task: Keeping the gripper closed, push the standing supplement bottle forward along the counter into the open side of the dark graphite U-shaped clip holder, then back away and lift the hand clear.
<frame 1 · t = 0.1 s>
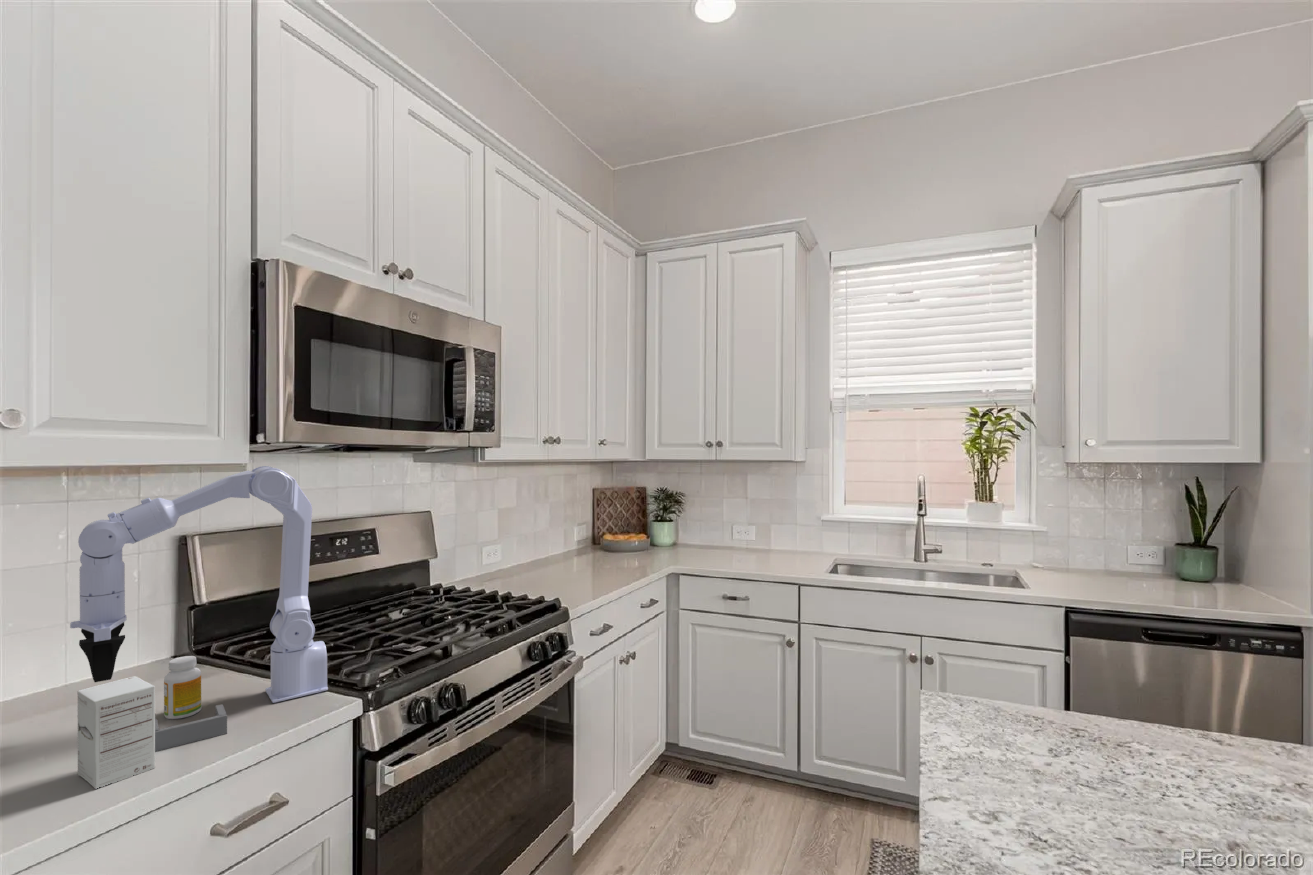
hand: (103, 673, 107), 10 cm above the counter, tool pointing down, fingers open, 7 cm apart
supplement box: (116, 773, 95), on the counter
clip holder: (187, 733, 108), on the counter
supplement bottle: (183, 714, 115), on the counter
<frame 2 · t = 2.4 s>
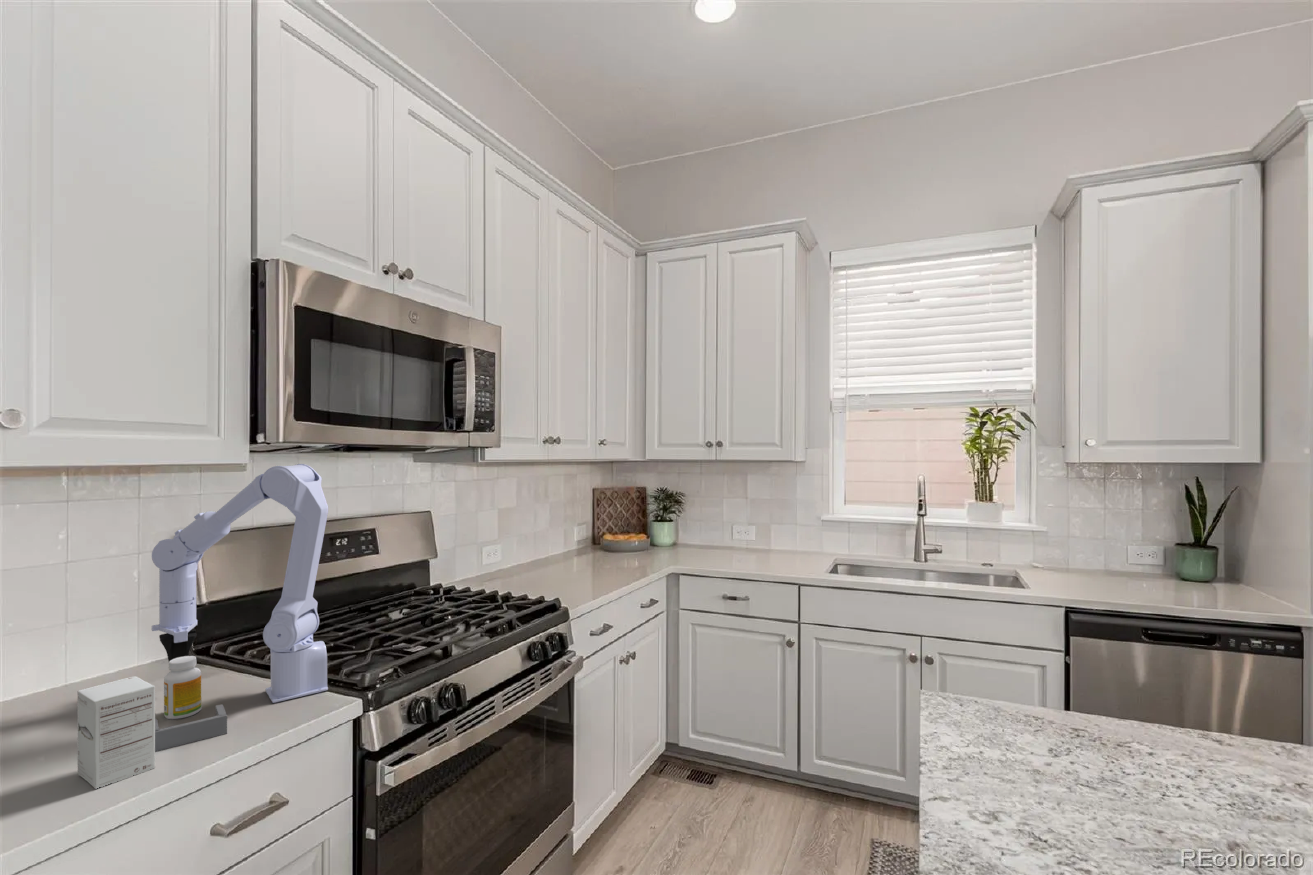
hand: (177, 670, 124), 5 cm above the counter, tool pointing down, fingers closed
nothing on the counter moved.
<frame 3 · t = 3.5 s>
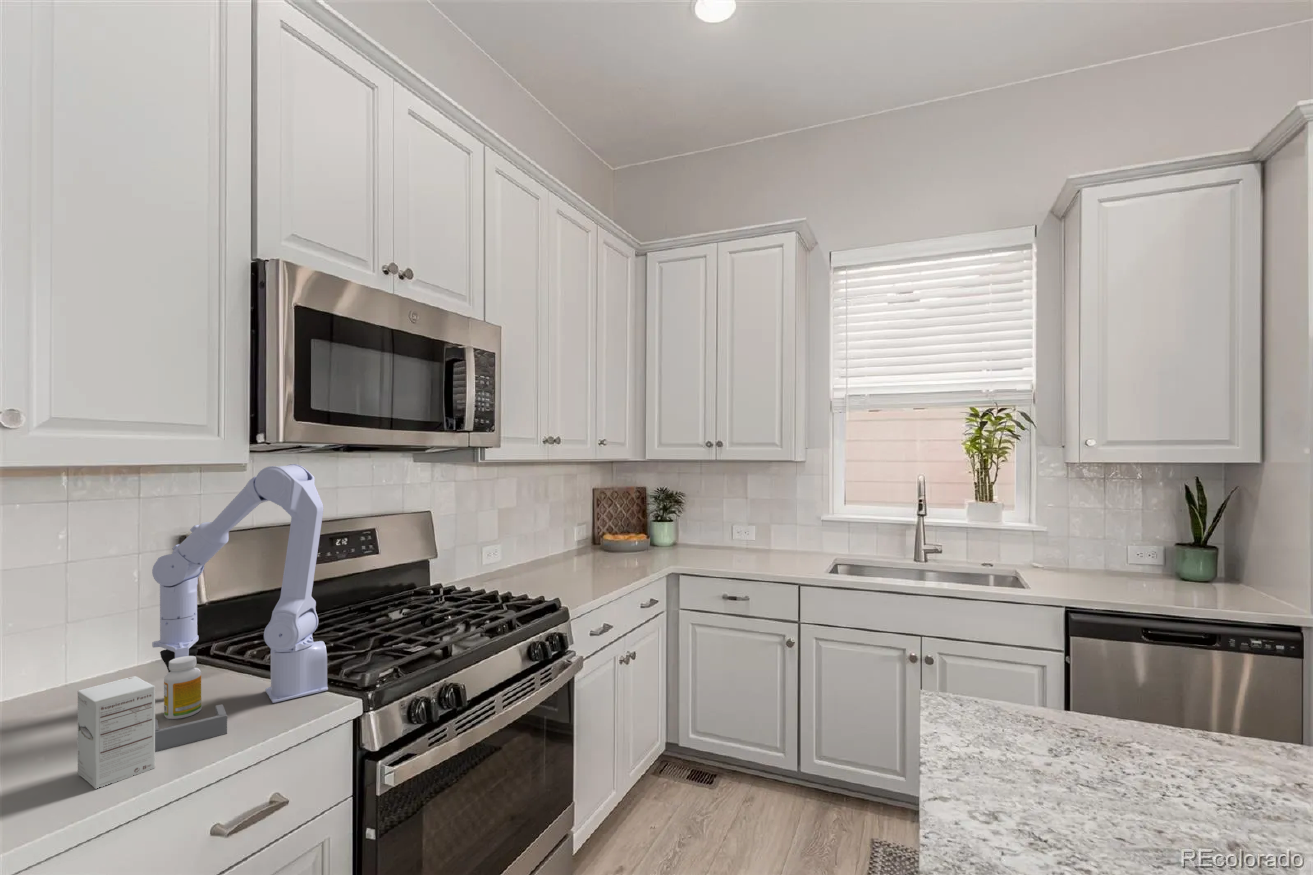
hand: (179, 686, 123), 2 cm above the counter, tool pointing down, fingers closed
nothing on the counter moved.
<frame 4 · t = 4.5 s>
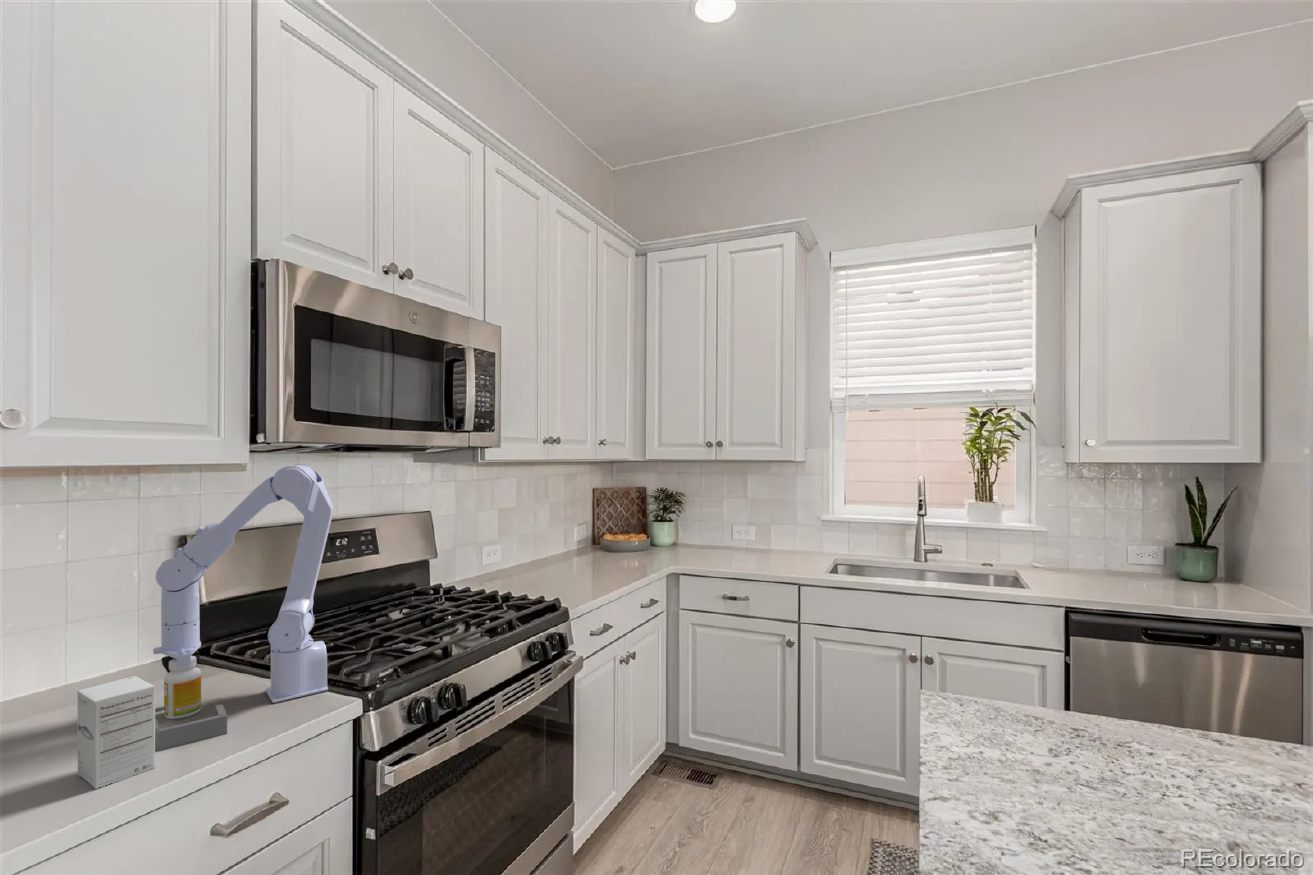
hand: (181, 694, 119), 2 cm above the counter, tool pointing down, fingers closed
supplement bottle: (183, 714, 115), on the counter, touching gripper
everything else where it was.
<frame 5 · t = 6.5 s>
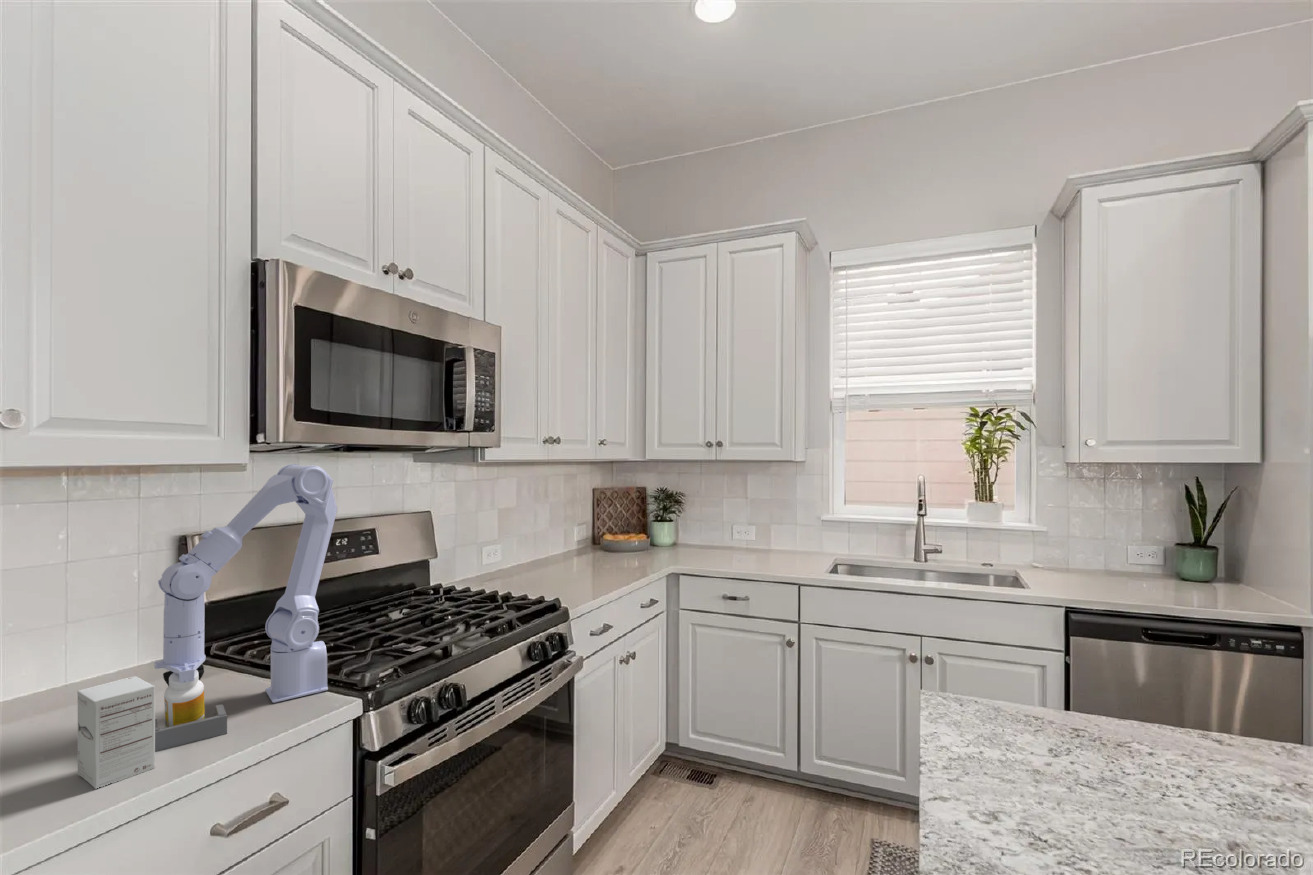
hand: (183, 712, 111), 2 cm above the counter, tool pointing down, fingers closed, pressing on supplement bottle
supplement bottle: (185, 725, 109), point 1 cm above the counter, touching gripper
everything else where it was.
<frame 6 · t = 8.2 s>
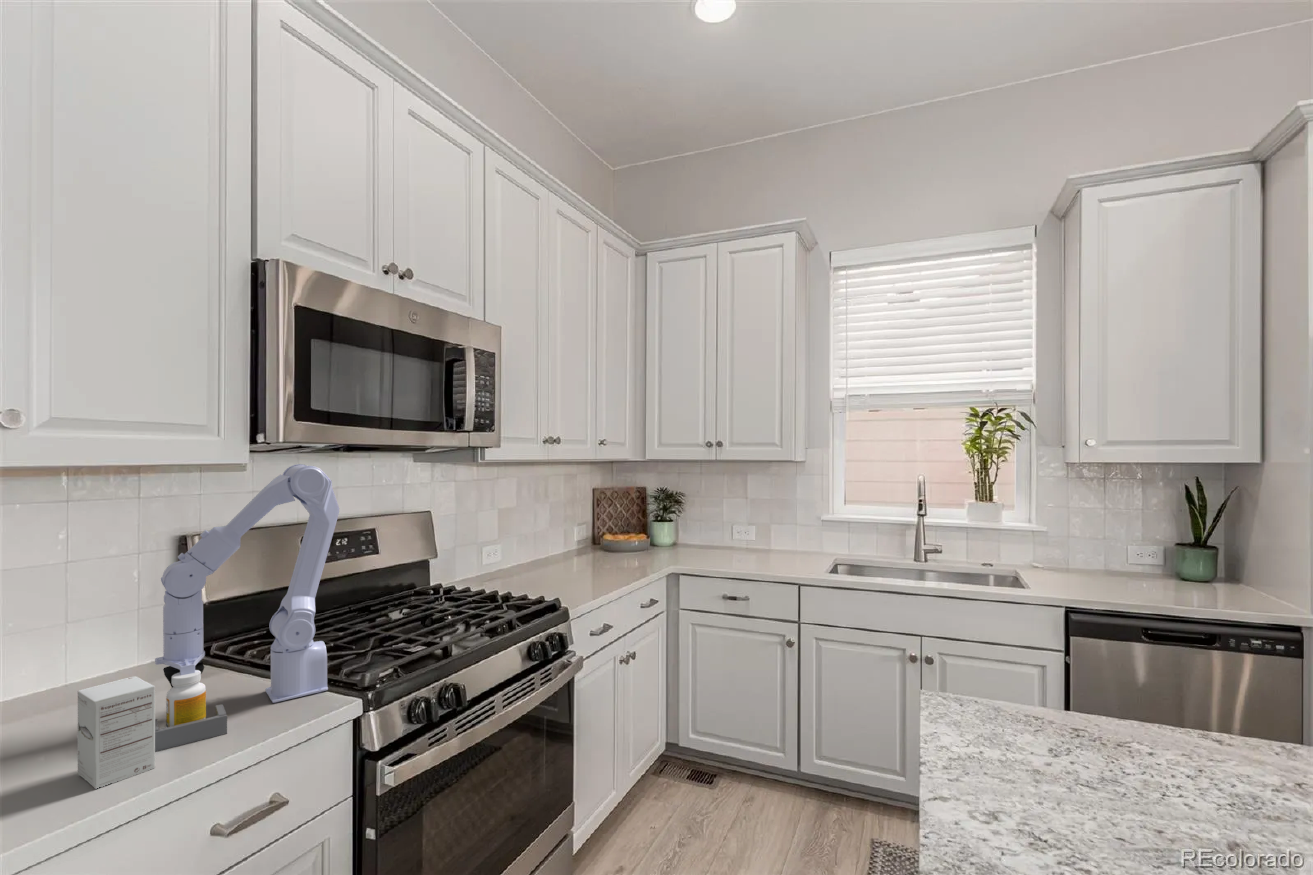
hand: (183, 706, 114), 2 cm above the counter, tool pointing down, fingers closed
supplement bottle: (186, 732, 108), on the counter
everything else where it was.
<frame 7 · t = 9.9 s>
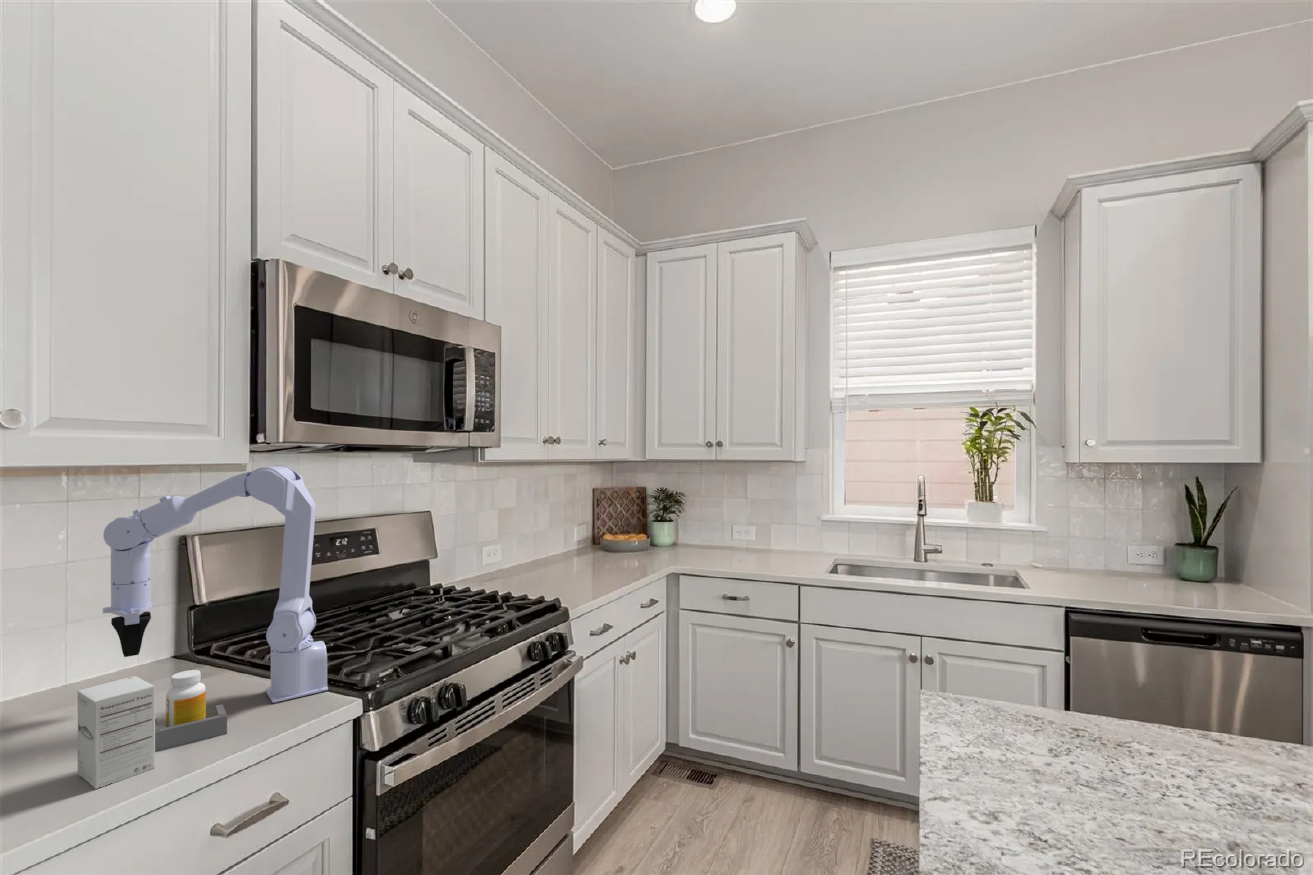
hand: (131, 655, 118), 9 cm above the counter, tool pointing down, fingers closed
nothing on the counter moved.
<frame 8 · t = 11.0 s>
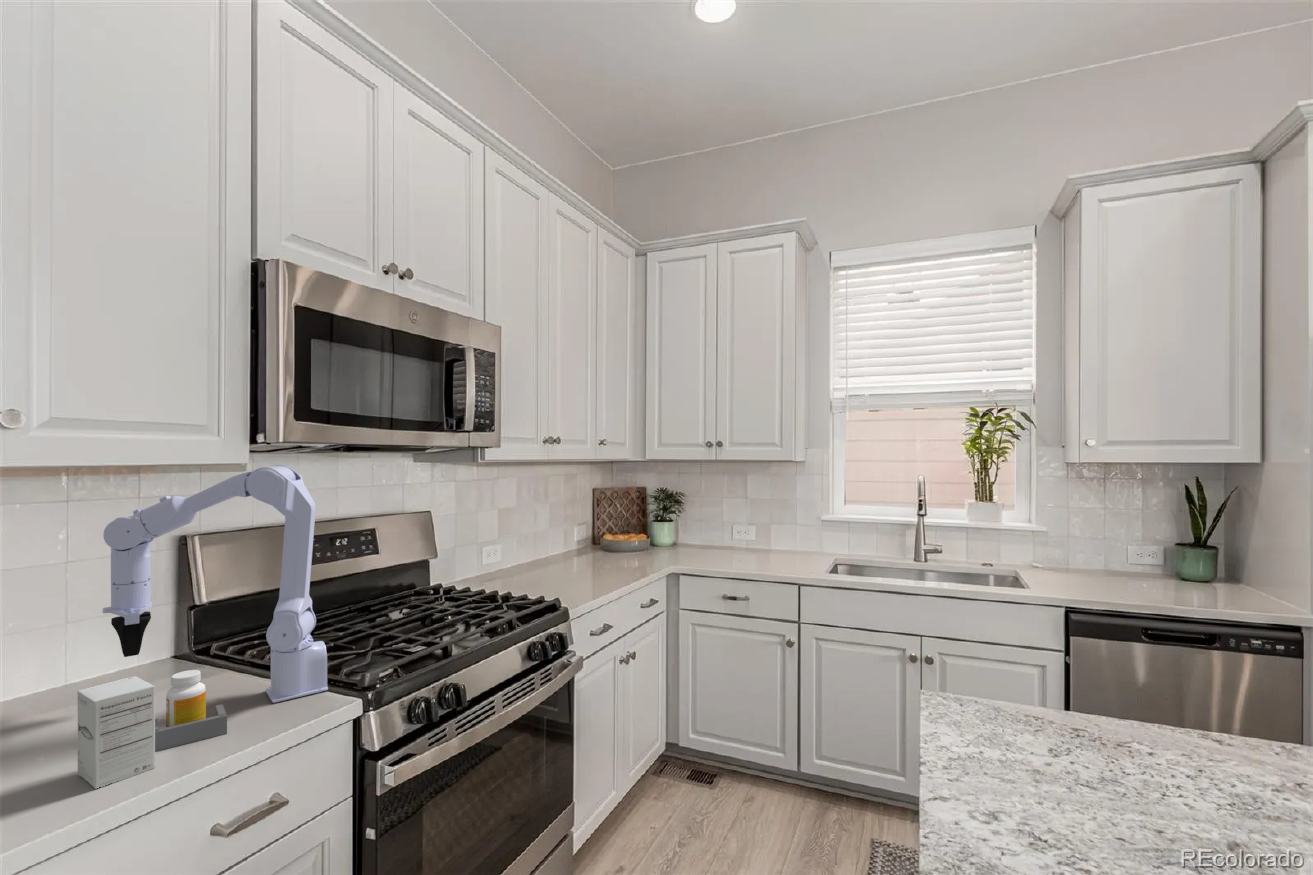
hand: (131, 655, 118), 9 cm above the counter, tool pointing down, fingers closed
nothing on the counter moved.
at the end: supplement bottle 1.4 cm off-centre on the clip holder, point 0.0 cm above the clip holder's base; supplement bottle tilted 0°; supplement bottle moved 9.1 cm from its start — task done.
